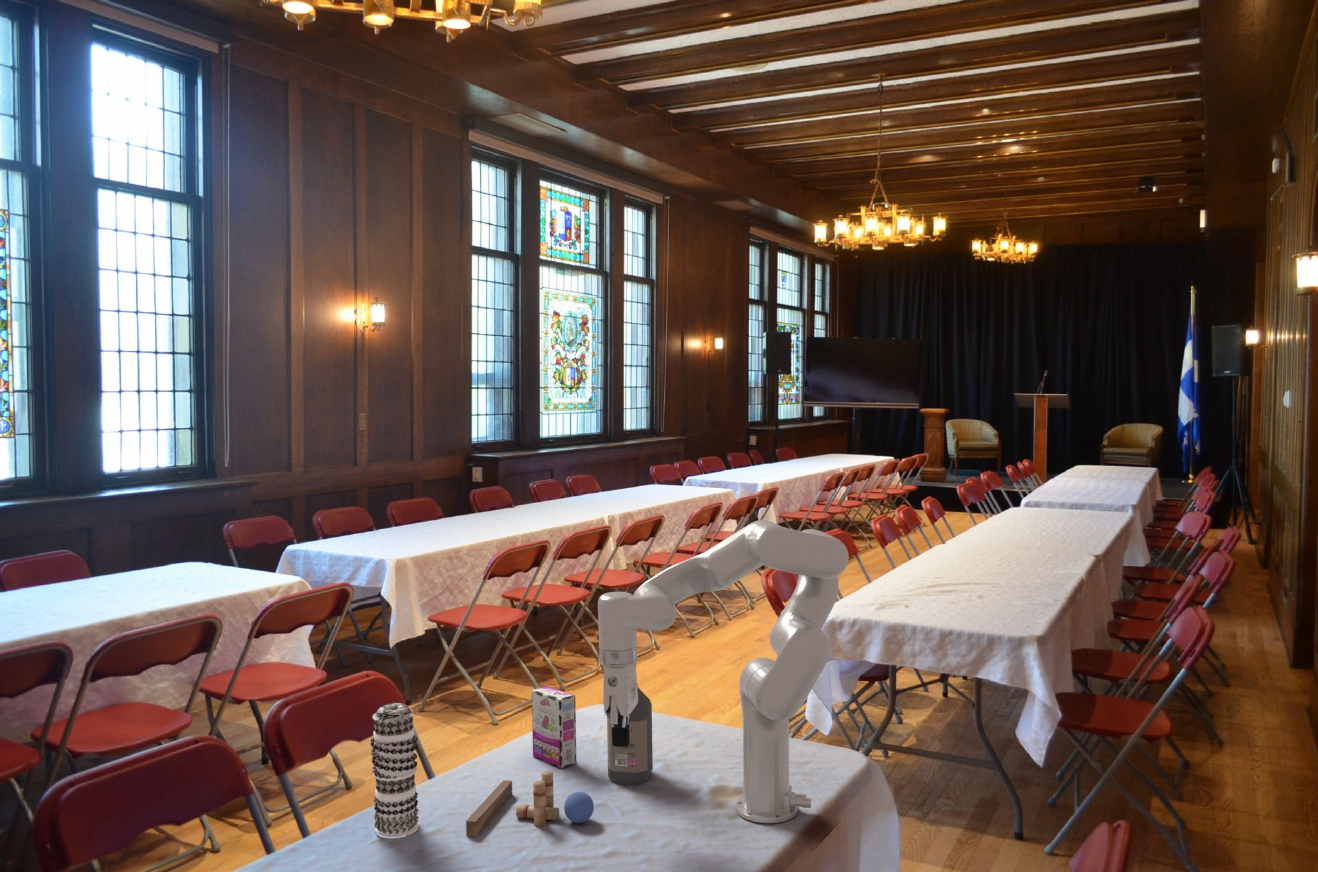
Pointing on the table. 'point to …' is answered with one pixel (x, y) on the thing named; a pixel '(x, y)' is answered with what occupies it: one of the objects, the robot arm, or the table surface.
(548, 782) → the pin
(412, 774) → the decorative candle
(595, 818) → the table surface
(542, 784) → the pin
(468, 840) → the table surface
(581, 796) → the ball
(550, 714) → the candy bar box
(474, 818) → the rail
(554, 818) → the front pin
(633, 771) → the liquor
